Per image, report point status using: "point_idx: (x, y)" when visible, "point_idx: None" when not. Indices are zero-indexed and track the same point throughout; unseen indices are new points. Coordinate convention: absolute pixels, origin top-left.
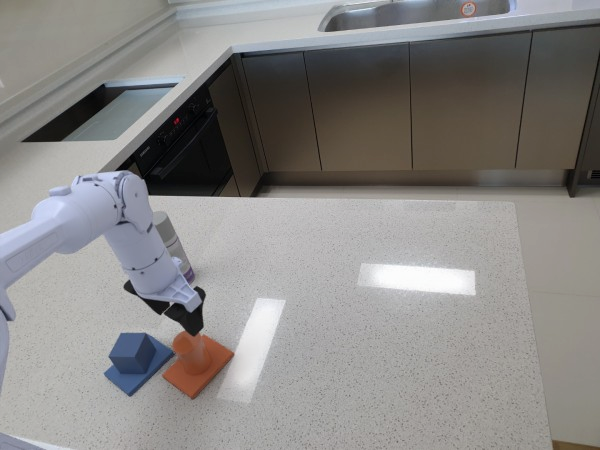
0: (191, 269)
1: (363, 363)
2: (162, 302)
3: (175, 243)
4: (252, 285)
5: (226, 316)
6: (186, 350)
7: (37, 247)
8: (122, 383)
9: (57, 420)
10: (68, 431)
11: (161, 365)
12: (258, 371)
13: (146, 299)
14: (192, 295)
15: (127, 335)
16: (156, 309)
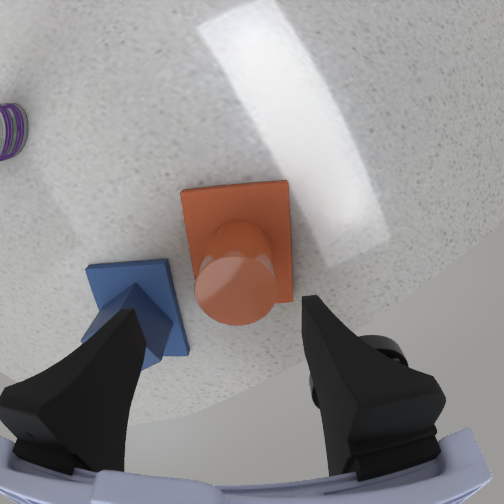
0: (5, 108)
1: (494, 75)
2: (127, 345)
3: None
4: (152, 13)
5: (173, 115)
6: (263, 309)
7: None
8: None
9: (147, 405)
10: (174, 407)
11: (173, 291)
12: (363, 179)
13: (124, 417)
14: (475, 490)
15: None
16: (139, 364)
